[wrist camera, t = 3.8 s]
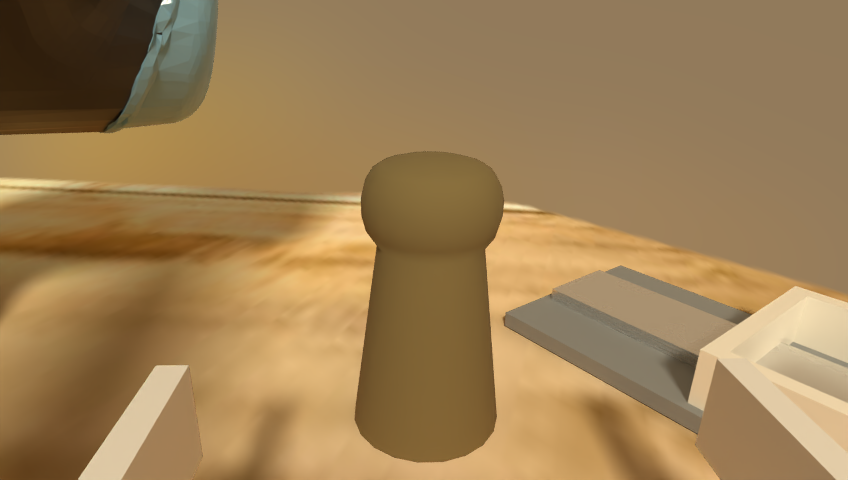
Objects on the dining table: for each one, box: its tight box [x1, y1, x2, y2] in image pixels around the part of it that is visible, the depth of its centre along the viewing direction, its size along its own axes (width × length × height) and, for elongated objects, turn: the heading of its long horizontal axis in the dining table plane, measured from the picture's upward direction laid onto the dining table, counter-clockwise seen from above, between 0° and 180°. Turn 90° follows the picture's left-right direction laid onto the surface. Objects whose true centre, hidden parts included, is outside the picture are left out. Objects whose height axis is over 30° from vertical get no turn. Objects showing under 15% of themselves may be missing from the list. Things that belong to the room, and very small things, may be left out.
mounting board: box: [505, 266, 848, 434], centre depth 25 cm, size 24×11×1 cm, turn 39°
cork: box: [355, 152, 504, 462], centre depth 22 cm, size 6×6×11 cm
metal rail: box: [551, 270, 848, 403], centre depth 25 cm, size 23×4×1 cm, turn 39°
